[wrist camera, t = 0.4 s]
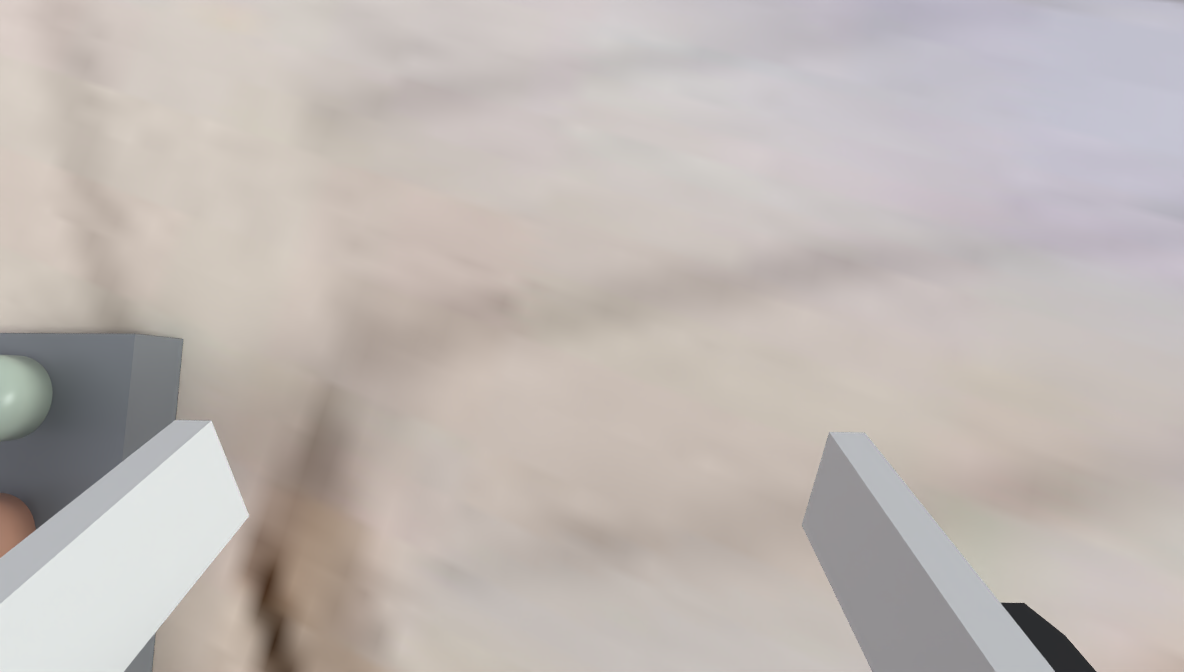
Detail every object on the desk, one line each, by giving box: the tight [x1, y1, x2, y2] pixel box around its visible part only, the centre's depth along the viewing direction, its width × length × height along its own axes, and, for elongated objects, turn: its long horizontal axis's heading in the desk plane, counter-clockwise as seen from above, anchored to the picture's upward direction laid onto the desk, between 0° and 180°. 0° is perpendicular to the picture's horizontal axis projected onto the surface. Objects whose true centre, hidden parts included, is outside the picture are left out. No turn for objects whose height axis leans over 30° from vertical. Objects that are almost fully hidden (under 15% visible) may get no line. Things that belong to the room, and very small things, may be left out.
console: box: [0, 333, 183, 672], centre depth 28 cm, size 21×10×3 cm, turn 179°
